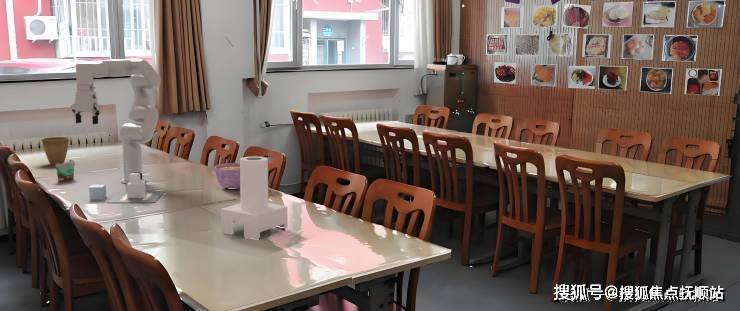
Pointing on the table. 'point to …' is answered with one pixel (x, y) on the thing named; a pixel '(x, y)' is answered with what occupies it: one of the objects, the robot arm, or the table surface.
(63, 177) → the food container
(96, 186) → the blue cube
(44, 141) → the plant pot
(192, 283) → the table surface
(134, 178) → the medicine bottle
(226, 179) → the bowl of food
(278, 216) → the paper towel holder
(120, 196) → the board
